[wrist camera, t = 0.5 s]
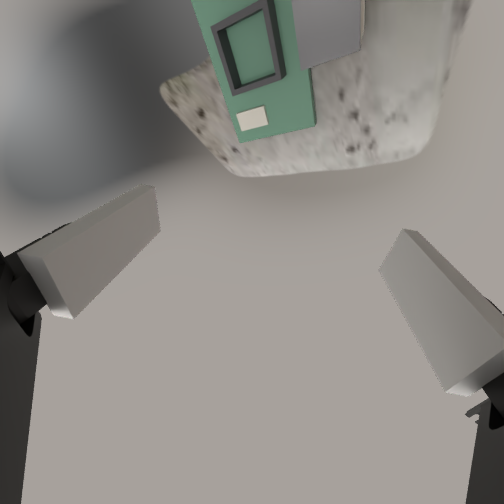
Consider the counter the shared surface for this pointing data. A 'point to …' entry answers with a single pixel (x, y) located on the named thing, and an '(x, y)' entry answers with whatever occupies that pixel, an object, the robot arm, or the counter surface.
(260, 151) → the counter surface
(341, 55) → the plug
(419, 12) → the counter surface
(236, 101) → the board
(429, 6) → the counter surface
